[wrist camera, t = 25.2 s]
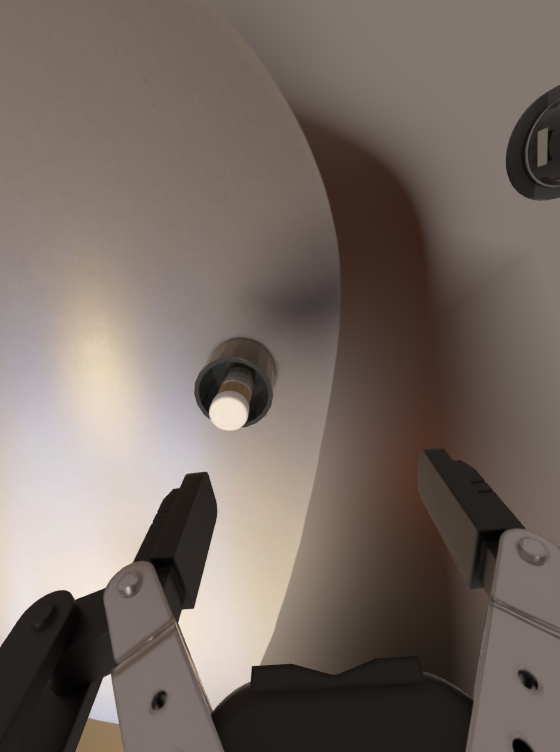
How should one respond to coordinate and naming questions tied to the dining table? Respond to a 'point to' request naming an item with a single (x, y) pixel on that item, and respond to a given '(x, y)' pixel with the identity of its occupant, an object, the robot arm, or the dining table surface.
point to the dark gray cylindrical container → (218, 367)
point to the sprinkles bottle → (233, 397)
